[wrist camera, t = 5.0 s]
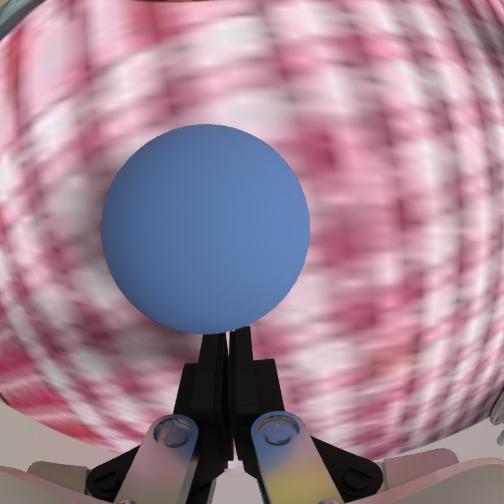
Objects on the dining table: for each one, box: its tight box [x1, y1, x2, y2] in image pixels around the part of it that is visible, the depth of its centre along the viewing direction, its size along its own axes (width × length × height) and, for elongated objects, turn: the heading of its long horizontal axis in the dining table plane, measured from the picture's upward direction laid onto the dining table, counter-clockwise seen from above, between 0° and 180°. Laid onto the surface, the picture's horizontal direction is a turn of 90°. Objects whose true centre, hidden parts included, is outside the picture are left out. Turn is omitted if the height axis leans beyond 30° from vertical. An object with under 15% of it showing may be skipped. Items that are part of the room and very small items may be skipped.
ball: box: [101, 124, 310, 334], centre depth 7 cm, size 6×6×6 cm
